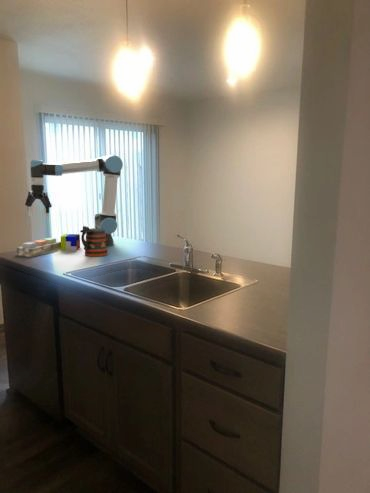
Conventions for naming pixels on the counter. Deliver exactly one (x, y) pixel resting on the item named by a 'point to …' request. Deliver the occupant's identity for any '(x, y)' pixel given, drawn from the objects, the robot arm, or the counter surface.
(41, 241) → the key terracotta
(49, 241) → the key sage
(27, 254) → the key console
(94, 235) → the beer stein
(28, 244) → the key slate
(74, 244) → the puzzle toy
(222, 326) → the counter surface
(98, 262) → the counter surface
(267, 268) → the counter surface
